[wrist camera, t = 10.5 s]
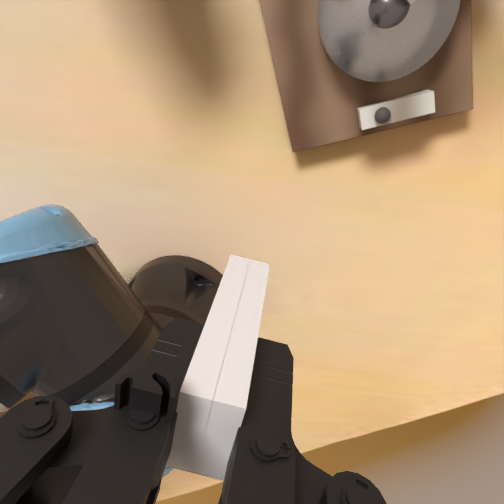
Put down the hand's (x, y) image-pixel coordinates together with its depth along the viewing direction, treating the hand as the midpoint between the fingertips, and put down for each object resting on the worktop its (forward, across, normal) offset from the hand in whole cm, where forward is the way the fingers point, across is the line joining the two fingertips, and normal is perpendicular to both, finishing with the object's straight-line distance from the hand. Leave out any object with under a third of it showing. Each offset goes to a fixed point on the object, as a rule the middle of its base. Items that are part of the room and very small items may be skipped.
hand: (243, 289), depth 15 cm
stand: (+29, +3, +14) cm, 33 cm away
